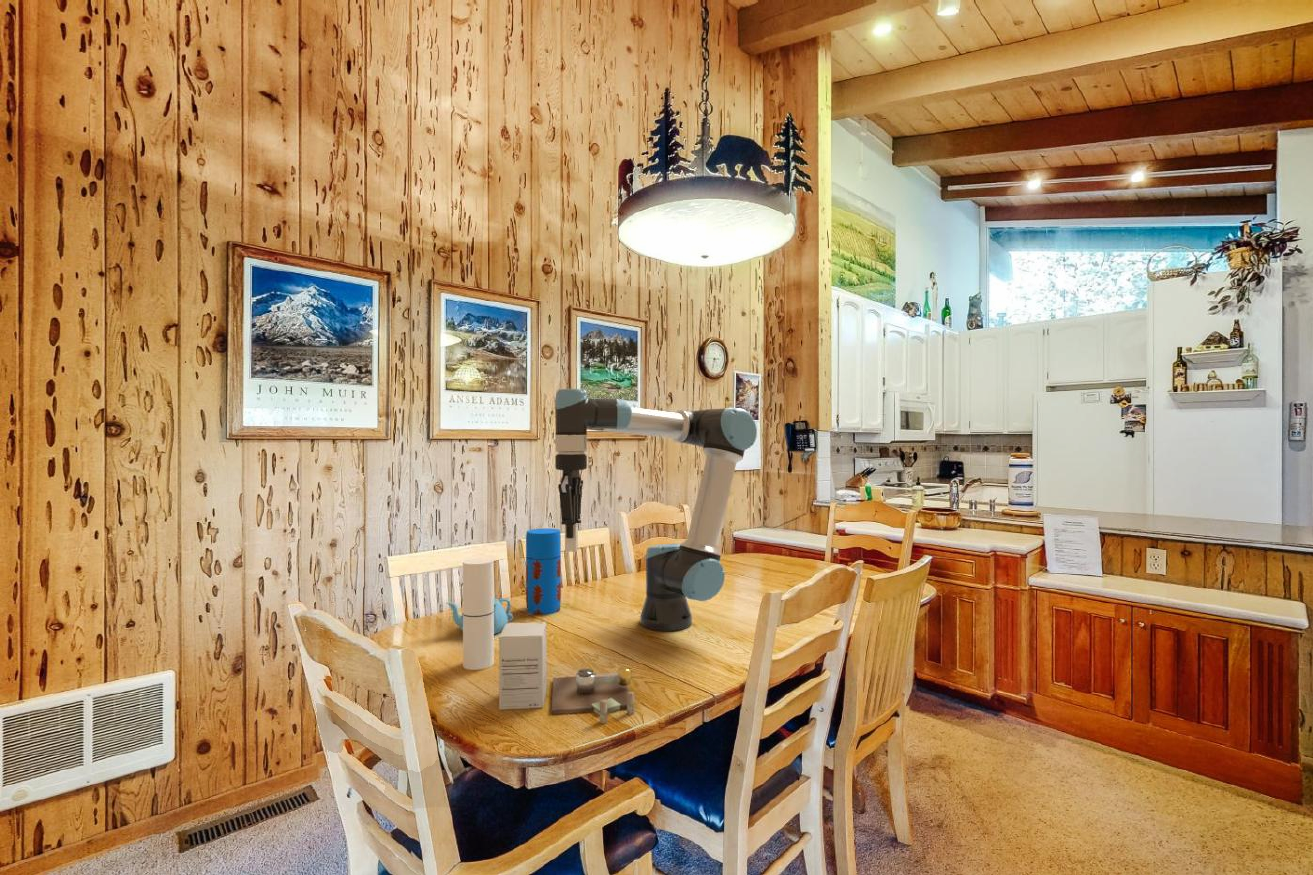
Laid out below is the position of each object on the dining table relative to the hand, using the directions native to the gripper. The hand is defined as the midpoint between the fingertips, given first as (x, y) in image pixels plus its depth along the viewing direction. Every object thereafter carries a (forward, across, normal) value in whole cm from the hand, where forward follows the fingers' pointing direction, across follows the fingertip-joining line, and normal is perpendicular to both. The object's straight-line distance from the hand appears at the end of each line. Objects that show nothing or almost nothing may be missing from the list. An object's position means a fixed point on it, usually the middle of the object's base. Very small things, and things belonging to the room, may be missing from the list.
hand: (571, 550), depth 144 cm
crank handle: (+26, +15, +12) cm, 32 cm away
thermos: (+28, -42, -22) cm, 55 cm away
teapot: (+28, -20, -33) cm, 47 cm away
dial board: (+27, +18, +10) cm, 34 cm away
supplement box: (+28, +20, -4) cm, 34 cm away
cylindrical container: (+28, +3, -22) cm, 36 cm away
